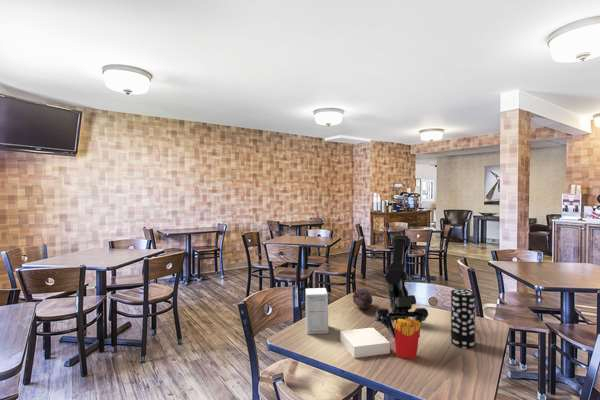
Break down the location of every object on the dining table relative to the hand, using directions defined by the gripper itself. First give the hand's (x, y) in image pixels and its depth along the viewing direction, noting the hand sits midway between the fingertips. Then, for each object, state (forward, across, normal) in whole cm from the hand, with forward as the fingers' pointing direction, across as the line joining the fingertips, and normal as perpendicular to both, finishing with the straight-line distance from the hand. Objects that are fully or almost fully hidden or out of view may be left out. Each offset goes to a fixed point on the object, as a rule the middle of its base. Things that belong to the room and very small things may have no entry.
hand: (406, 337), depth 118 cm
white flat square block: (-1, -14, +10) cm, 17 cm away
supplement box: (-12, -31, +22) cm, 40 cm away
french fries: (+4, 0, +5) cm, 7 cm away
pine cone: (-30, -6, +40) cm, 50 cm away
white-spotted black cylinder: (-2, +25, +11) cm, 27 cm away
